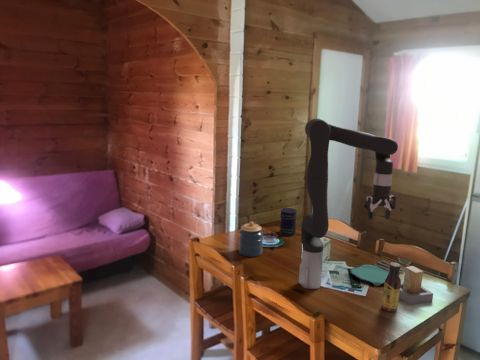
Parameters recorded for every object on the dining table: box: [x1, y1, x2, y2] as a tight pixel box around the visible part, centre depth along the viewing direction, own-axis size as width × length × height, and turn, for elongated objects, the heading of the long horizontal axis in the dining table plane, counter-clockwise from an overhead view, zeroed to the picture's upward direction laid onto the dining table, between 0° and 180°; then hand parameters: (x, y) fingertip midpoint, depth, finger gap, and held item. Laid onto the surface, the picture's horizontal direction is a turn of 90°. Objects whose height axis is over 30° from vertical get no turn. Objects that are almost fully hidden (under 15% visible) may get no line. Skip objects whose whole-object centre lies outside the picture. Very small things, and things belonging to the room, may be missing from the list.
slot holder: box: [399, 282, 434, 306], centre depth 183 cm, size 12×12×4 cm
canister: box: [238, 221, 264, 258], centre depth 226 cm, size 13×13×18 cm
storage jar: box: [279, 207, 298, 237], centre depth 258 cm, size 10×10×15 cm
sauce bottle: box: [381, 261, 402, 313], centre depth 171 cm, size 6×6×20 cm
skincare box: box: [402, 265, 424, 295], centre depth 182 cm, size 6×4×12 cm
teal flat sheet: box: [350, 259, 405, 287], centre depth 205 cm, size 20×30×2 cm, turn 128°
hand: (378, 218), depth 187 cm, fingers open, 8 cm apart
